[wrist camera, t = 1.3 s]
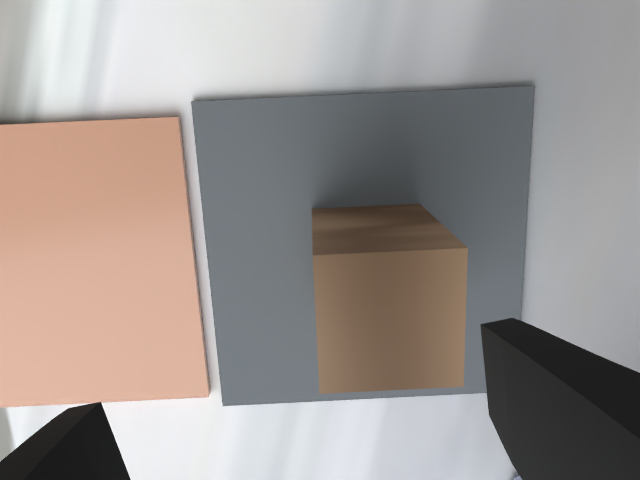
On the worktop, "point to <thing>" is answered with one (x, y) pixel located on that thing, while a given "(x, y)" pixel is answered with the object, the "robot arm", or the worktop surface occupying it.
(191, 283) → the tile
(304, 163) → the mat
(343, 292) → the walnut block
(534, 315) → the worktop surface
